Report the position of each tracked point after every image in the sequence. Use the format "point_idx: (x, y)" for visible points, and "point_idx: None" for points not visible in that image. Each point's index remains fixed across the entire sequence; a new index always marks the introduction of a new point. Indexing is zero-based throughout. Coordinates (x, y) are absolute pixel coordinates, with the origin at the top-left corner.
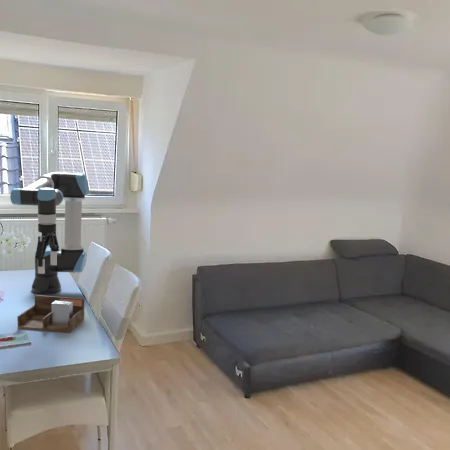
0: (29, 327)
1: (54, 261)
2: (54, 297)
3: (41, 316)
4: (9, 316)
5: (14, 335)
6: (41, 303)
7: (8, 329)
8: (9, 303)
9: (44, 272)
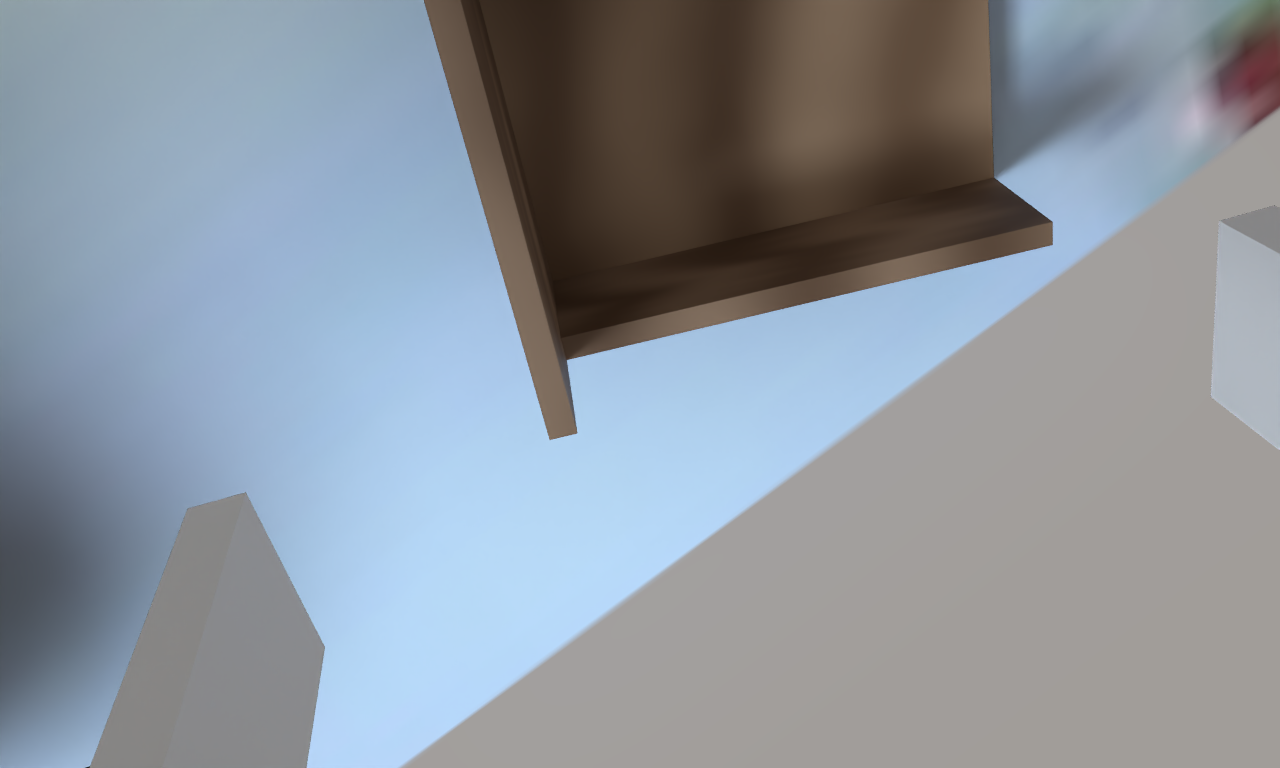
0: (987, 47)
1: (246, 639)
2: (489, 99)
3: (603, 165)
4: (682, 503)
5: (1167, 83)
6: (542, 277)
7: (1020, 261)
8: (360, 746)
9: (1254, 227)
